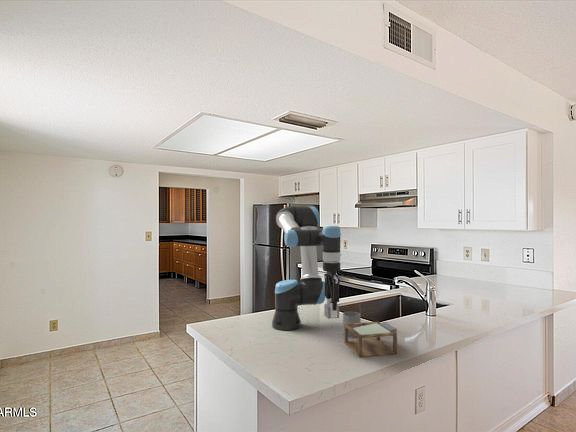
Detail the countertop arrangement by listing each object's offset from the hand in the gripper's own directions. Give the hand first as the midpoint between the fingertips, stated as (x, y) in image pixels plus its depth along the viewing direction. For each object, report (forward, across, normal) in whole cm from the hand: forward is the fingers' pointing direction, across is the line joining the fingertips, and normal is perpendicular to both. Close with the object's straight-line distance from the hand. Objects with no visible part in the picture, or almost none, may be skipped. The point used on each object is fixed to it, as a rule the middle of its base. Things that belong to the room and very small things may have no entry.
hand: (331, 315), depth 152 cm
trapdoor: (+7, -3, -18) cm, 20 cm away
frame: (+14, -3, -16) cm, 22 cm away
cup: (+15, +15, -15) cm, 25 cm away
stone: (0, 0, 0) cm, 0 cm away
